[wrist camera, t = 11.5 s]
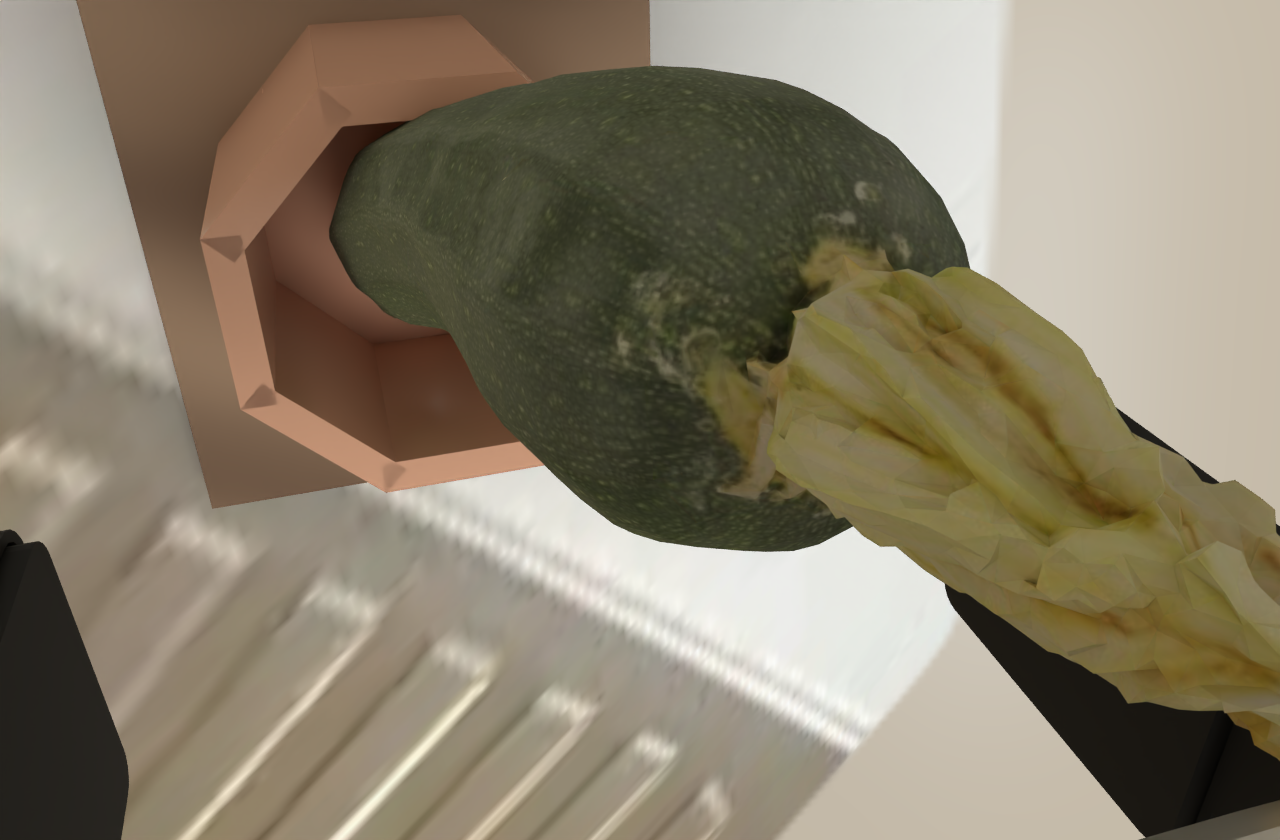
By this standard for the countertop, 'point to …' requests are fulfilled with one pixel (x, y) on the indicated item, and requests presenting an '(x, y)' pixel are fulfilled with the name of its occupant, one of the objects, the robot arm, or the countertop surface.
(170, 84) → the stand
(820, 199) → the vegetable
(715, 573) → the countertop surface
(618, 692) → the countertop surface
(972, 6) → the countertop surface
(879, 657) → the countertop surface
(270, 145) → the cup
